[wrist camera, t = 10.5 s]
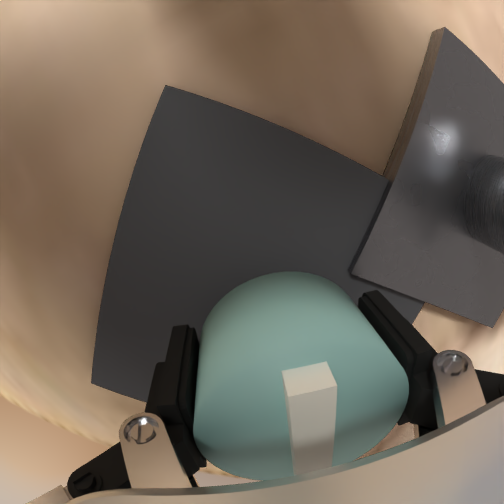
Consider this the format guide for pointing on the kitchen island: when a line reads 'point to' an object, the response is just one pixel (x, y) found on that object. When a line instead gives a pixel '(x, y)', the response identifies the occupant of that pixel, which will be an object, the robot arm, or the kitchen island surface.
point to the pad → (223, 228)
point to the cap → (292, 379)
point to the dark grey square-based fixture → (444, 190)
